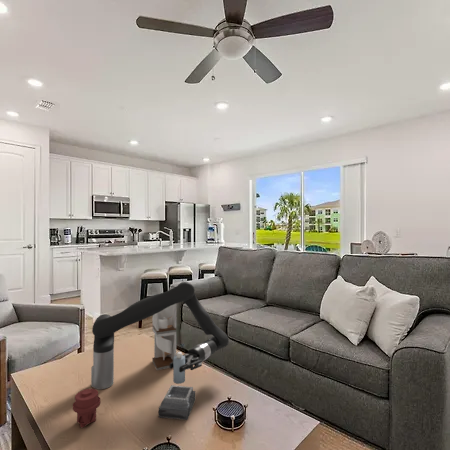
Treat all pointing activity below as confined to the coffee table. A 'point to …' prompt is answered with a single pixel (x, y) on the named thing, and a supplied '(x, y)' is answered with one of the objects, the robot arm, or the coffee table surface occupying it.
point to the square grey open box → (177, 403)
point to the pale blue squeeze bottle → (177, 363)
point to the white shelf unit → (164, 337)
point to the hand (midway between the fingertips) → (175, 368)
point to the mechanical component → (86, 406)
